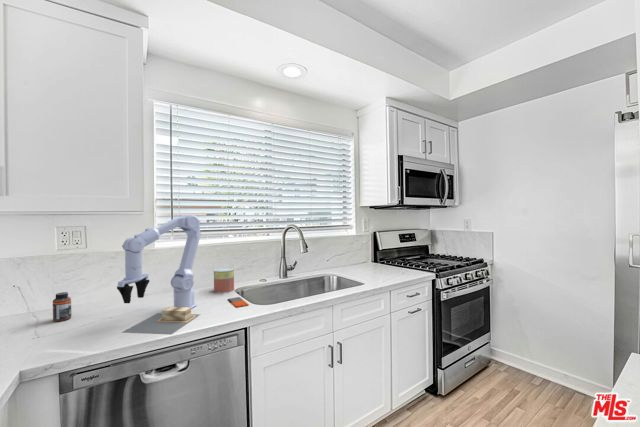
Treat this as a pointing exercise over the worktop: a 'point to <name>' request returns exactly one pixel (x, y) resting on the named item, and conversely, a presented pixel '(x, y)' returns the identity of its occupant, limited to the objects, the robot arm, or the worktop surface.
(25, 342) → the worktop surface
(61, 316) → the supplement bottle
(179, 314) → the cream block
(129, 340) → the worktop surface
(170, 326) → the rubber mat
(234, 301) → the phone
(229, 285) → the canned food
